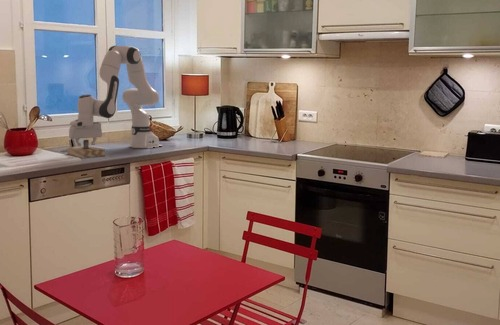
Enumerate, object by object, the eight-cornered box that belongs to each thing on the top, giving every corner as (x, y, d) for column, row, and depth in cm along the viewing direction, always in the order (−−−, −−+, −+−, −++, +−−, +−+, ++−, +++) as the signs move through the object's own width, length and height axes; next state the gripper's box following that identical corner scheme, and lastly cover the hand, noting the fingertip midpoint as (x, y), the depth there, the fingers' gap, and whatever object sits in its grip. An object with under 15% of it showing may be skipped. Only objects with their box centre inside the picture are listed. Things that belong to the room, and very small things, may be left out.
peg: (87, 154, 335) (86, 139, 333) (89, 155, 333) (89, 140, 331) (82, 154, 332) (82, 139, 331) (85, 155, 330) (85, 140, 329)
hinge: (78, 151, 345) (73, 136, 345) (72, 153, 346) (66, 138, 346) (91, 148, 362) (85, 133, 361) (84, 150, 363) (79, 135, 362)
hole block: (88, 152, 343) (88, 145, 343) (104, 155, 332) (104, 149, 331) (67, 153, 333) (67, 147, 333) (83, 157, 321) (83, 150, 321)
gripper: (98, 121, 339) (98, 143, 341) (67, 122, 324) (67, 146, 326) (103, 122, 335) (104, 144, 337) (73, 123, 320) (73, 147, 322)
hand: (86, 145), depth 332 cm, fingers open, 8 cm apart
